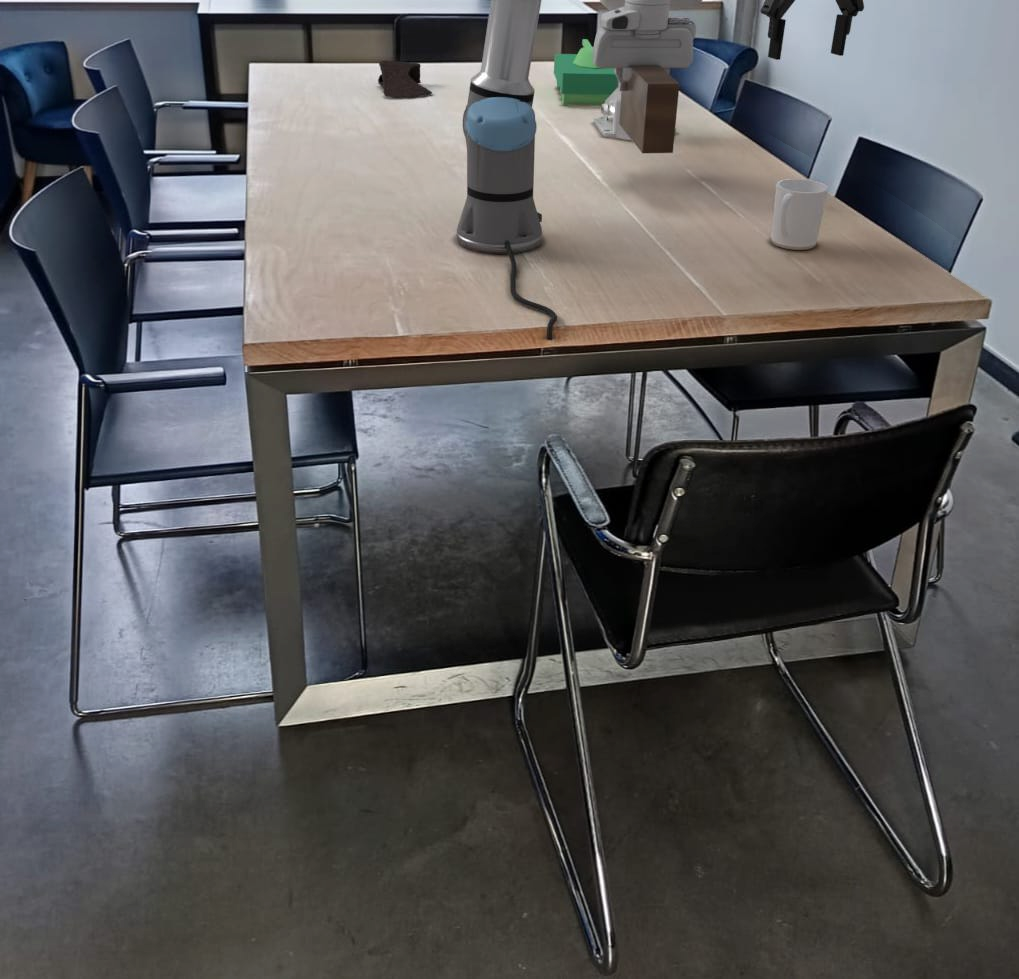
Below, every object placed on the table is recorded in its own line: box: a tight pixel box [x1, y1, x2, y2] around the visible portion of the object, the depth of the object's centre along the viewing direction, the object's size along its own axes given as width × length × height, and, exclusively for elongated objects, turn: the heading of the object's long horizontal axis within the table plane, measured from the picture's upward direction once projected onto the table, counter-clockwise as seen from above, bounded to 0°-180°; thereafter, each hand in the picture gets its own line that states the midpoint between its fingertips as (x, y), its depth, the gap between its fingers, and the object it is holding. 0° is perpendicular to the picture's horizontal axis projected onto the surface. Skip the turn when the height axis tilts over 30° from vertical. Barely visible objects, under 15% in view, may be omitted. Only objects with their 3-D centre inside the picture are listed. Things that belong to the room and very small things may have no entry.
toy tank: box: [553, 38, 617, 106], centre depth 299 cm, size 18×12×35 cm
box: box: [619, 65, 680, 154], centre depth 219 cm, size 23×6×13 cm, turn 7°
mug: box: [770, 178, 829, 251], centre depth 194 cm, size 11×9×10 cm
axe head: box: [377, 59, 433, 99], centre depth 299 cm, size 18×8×15 cm
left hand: (805, 56), depth 196 cm, fingers open, 13 cm apart
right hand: (640, 90), depth 224 cm, fingers closed on box, 6 cm apart
